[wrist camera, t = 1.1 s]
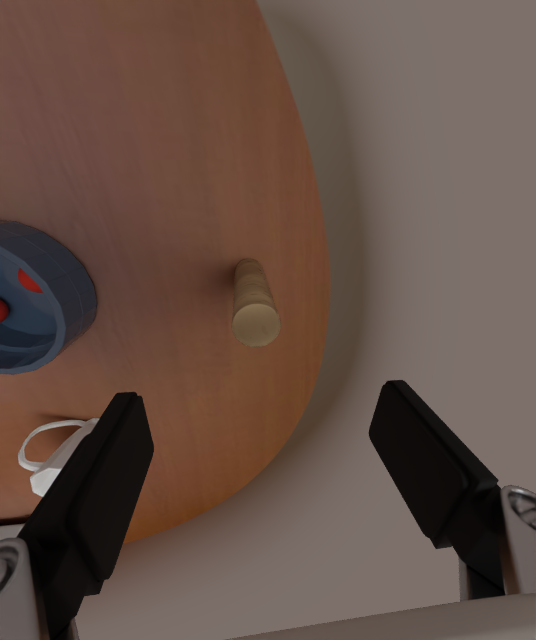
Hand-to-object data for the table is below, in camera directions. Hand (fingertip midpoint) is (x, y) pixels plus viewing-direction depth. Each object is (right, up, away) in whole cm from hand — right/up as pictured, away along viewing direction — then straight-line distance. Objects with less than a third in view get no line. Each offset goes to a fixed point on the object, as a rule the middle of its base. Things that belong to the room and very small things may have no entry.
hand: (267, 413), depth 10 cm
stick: (-2, +9, +18) cm, 20 cm away
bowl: (-25, +7, +16) cm, 31 cm away
